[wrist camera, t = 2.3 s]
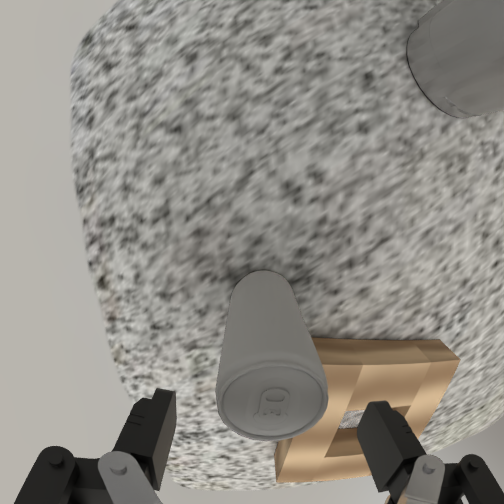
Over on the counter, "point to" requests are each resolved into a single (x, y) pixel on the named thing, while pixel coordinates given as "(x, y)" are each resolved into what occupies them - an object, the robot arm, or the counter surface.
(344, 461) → the socket
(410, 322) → the counter surface
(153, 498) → the robot arm
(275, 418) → the beverage can
